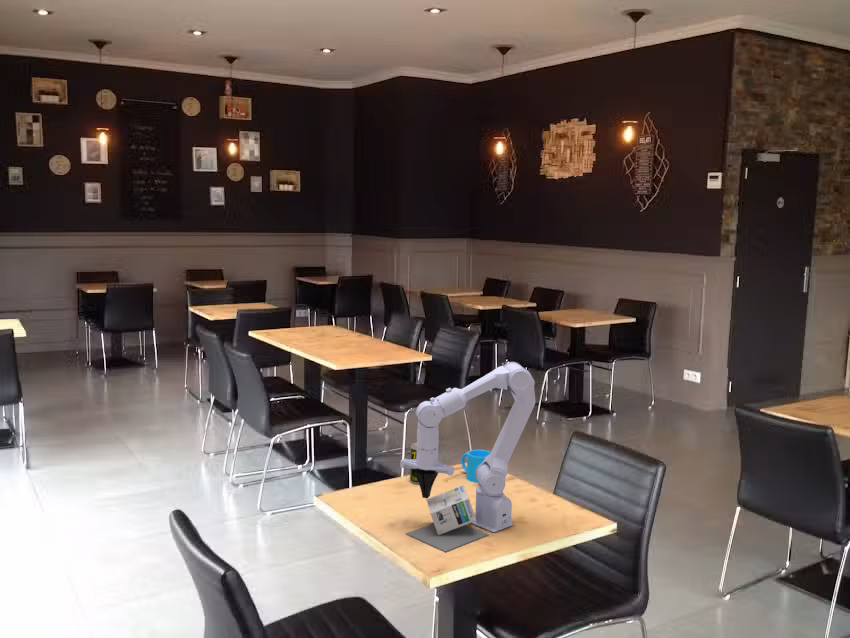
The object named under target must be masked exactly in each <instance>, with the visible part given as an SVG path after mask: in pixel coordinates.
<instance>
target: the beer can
mask: <svg viewBox="0 0 850 638" xmlns="http://www.w3.org/2000/svg"><path fill="white" fill-rule="evenodd" d="M416 456H417V441H415V442H411V446H410V458H409V459H415V460H416ZM415 472H416V469H412V468H409V480H410V483H412V485H419V483H418V480H417V478H416V477H415ZM419 486H420V485H419Z"/></svg>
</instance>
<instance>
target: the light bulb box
mask: <svg viewBox="0 0 850 638" xmlns="http://www.w3.org/2000/svg"><path fill="white" fill-rule="evenodd" d="M425 500H426V503H427V507H428V511H429V514H430V516H431V519H432V523H434V525H435V528H436V530H437V533H438V535H440V534H443V533H446V532H448V531H451V530H453V529H456V528H459V527H461V526H464V525H469V524H472V522H474V521H476V518H475V512H474V509H473V507H472V504H471V500H470V498H469V496H468V493H467V491H466V488H465V485H464V484H463V485H460V486H458V487H455V488H451V489H449V490H447V491H445V492H441V493H439V494H436V495H433V496H432V497H428V498H425Z"/></svg>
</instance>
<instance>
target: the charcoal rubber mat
mask: <svg viewBox="0 0 850 638" xmlns="http://www.w3.org/2000/svg"><path fill="white" fill-rule="evenodd" d="M405 535H406V536H408V537H411V538H413V539H415V540H418V541H420V542H422V543H424V544H425V545H429V546H430V547H433V548H435V549H437V550H439V551H442V552H443V553H448V552H450V551H453V550H455V549H458V548H461V547H463V546H466V545H468V544H471V543H473V542H475V541H478V540H480V539H483V538H486V537H489V536H490V534H489V533H487V532H484V531H482V530H480V529H477V528H475V527H472V526H470V525H469V524H466V525H464V526H461V527H459V528H456V529H453V530H451V531H448V532H446V533H443V534H440V535H438V533H437V530H436V528H435V525H434V522H432V523H431V524H427V525H425V526H422V527H419V528H417V529H414V530H411V531H408V532H406V533H405Z"/></svg>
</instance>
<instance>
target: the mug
mask: <svg viewBox="0 0 850 638" xmlns="http://www.w3.org/2000/svg"><path fill="white" fill-rule="evenodd" d="M490 453H491V451H489V450H485V449H473V450H469V451H467V452H465V453H464V454H463V455H462V456H461V459H460V462H461V463H460V464H461V467H462V469H463V470H464V471H465V472H466V480H468V481H469V482H471V483H475V484H476V483H477V484H479V482H478V481H477V479H476V476H475V472H476V469H477V467H478V466H479V465H480V464H482V463H483V461H484V460H485V458H486V456H488V455H489V454H490ZM465 460H466V461H465ZM465 462H466V463H465Z"/></svg>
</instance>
